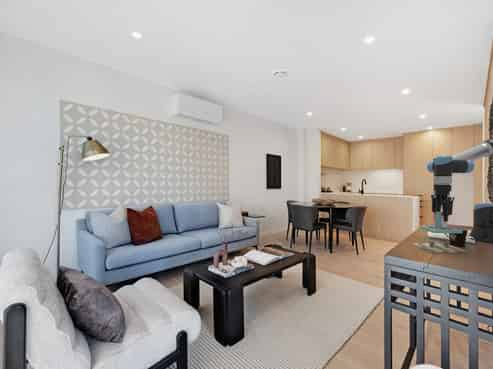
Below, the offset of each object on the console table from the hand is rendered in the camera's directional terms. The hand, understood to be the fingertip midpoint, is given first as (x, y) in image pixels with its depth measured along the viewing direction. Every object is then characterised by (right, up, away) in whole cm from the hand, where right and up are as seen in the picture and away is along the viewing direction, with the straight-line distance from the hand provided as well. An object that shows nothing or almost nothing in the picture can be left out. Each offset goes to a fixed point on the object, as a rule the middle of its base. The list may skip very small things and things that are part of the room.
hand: (441, 226), depth 132 cm
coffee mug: (+17, -13, +10) cm, 23 cm away
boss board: (+1, -13, +3) cm, 13 cm away
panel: (0, -3, 0) cm, 3 cm away
